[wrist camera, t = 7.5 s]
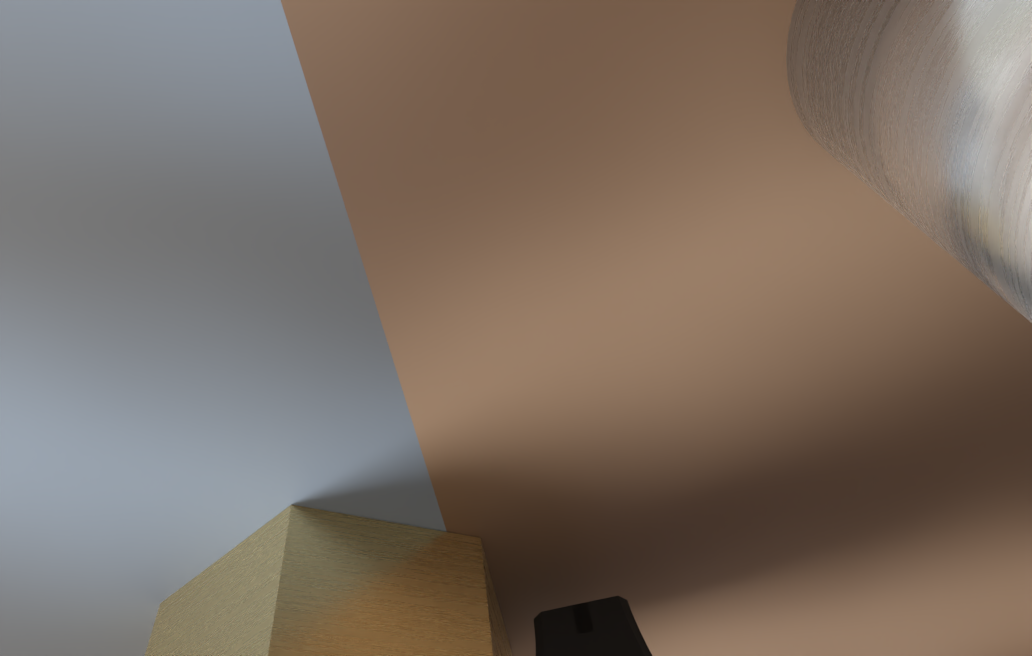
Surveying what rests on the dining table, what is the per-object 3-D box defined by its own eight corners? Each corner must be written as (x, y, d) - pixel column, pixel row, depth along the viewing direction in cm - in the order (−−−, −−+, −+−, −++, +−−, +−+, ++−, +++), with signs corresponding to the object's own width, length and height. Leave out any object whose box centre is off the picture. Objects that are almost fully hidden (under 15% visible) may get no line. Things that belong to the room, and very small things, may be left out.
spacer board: (1473, 651, 18) (1516, 684, 17) (86, 948, 17) (74, 994, 17) (2390, -521, 8) (2581, -551, 7) (-824, 138, 7) (-944, 172, 7)
